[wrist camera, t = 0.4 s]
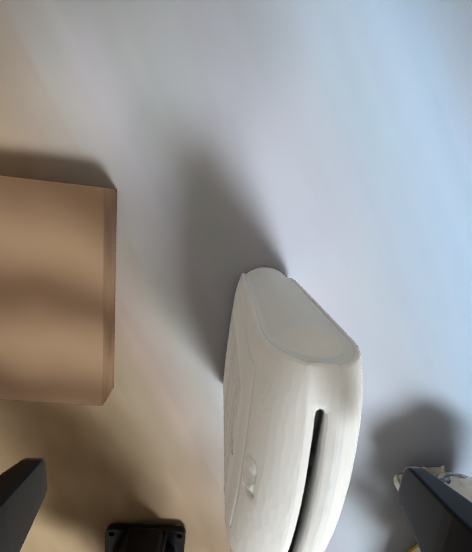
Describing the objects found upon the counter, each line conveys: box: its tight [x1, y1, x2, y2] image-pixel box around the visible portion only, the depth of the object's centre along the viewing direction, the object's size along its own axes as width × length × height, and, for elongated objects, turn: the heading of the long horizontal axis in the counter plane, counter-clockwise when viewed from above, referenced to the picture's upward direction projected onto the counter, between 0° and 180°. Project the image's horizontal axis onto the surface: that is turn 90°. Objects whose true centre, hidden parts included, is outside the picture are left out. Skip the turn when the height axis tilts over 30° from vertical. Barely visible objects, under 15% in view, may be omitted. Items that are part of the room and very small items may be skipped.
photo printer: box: [223, 267, 363, 552], centre depth 14 cm, size 10×4×12 cm, turn 173°
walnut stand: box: [0, 175, 117, 406], centre depth 18 cm, size 14×12×2 cm
